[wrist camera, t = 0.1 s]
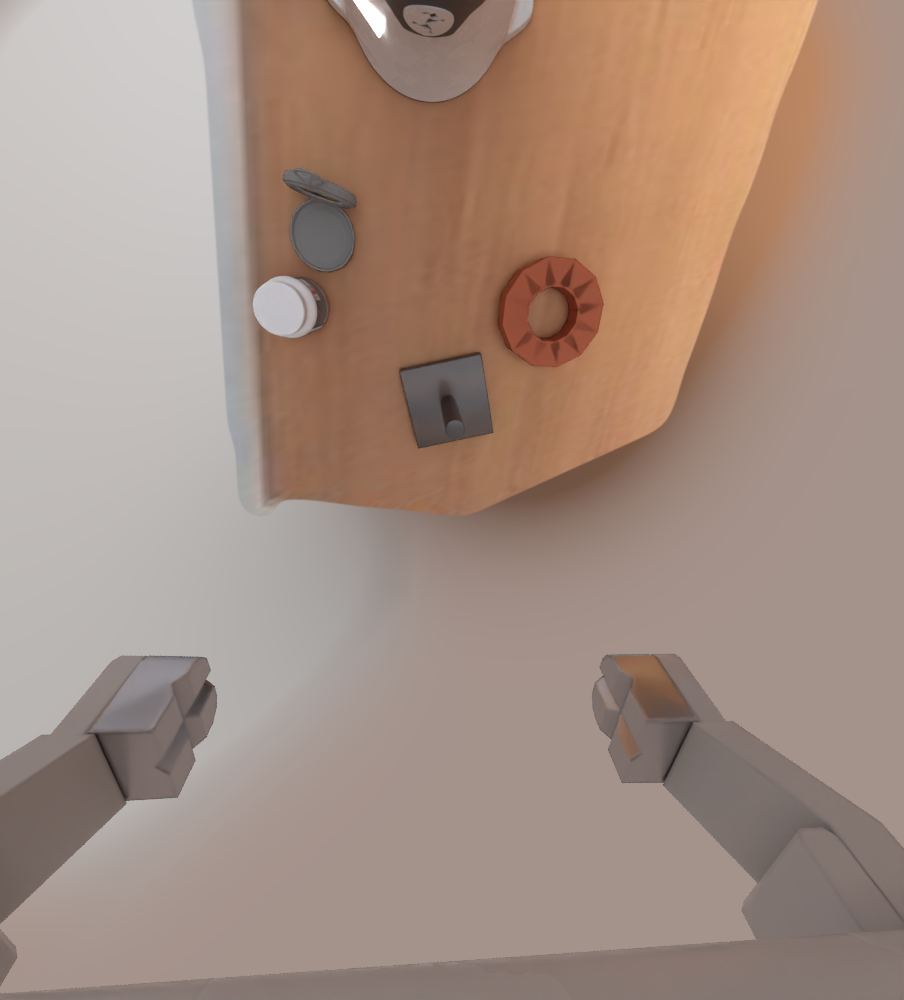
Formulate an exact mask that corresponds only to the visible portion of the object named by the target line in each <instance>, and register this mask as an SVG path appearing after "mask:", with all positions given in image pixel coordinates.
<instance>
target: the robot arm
mask: <svg viewBox="0 0 904 1000" xmlns="http://www.w3.org/2000/svg"><path fill="white" fill-rule="evenodd" d="M327 1H328V2H329V3H330V4H331V6H332V7H333V8H334V9H335V10H336V11H337V12H338V13H339V14H340V15H341V16H342V17H343V18H344V19H345V20H346V21H347V22H348V23H349V25H350V26H351V28H352V29H353V31H354V33H355V35H356V37H357V39H358V41H359V44H360V46H361V48H362V50H363V52H364V54H365V55H366V57H367V59H368V60H369V62H370V64H371V65H372V66H373V68H374V69H375V70H376V72H377V73H378V74H379V75H380V76H381V77H382V78H383V80H384V81H386V82H387V83H388V84H389V85H390V86H391V87H393V88H394V89H395V90H397V91H398V92H400V93H402V94H403V95H405V96H408V97H410V98H413V99H415V100H419V101H425V102H440V101H445V100H449V99H452V98H455V97H457V96H459V95H461V94H463V93H464V92H466V91H467V90H469V89H470V88H471V87H472V86H473V85H475V84H476V83H477V82H478V81H479V80H480V78H481V77H482V76H483V75H484V74H485V72H486V71H487V69H488V68H489V66H490V65H491V63H492V61H493V60H494V58H495V56H496V55H497V53H498V52H499V50H500V49H501V47H502V46H503V45H504V44H505V43H506V42H507V41H509V40H510V39H512V38H513V37H515V36H516V35H517V34H519V33H520V32H521V31H522V30H523V29H524V28H525V27H526V26H527V25H528V23H529V21H530V19H531V16H532V11H533V5H534V0H327ZM600 669H601V672H602V674H603V676H602V677H601V678H600V679H599V680H597V681H596V682H595V685H594V688H593V692H592V702H593V711H594V715H595V718H596V721H597V724H598V726H599V728H600V730H601V731H602V732H604V733H605V734H606V735H607V736H608V737H609V738H610V739H611V742H610V745H609V749H608V750H609V753H610V755H611V757H612V760H613V762H614V765H615V767H616V770H617V772H618V774H619V777H620V779H621V782H622V783H664V784H663V786H665V787H666V789H667V790H668V791H669V792H670V793H671V794H672V795H673V796H674V797H675V798H676V799H677V800H678V801H679V802H680V803H681V804H682V805H683V806H684V807H685V808H686V809H687V810H688V811H689V812H690V813H691V815H692V816H693V817H695V819H696V820H697V821H698V822H699V823H700V824H701V825H702V826H703V827H704V828H705V829H706V830H707V831H708V832H709V833H710V834H711V835H712V836H713V837H714V838H715V839H716V840H717V841H718V842H719V843H720V845H721V846H722V847H723V848H724V849H725V850H726V851H727V852H728V853H729V854H730V855H731V856H732V857H733V858H734V859H735V860H736V861H737V862H738V863H739V864H740V865H741V866H742V867H743V868H744V869H745V870H746V871H747V873H749V875H750V876H751V877H752V878H753V879H754V880H755V881H756V882H757V885H756V886H755V887H754V889H753V890H752V891H751V892H750V894H749V895H748V896H747V898H746V899H745V900H744V903H743V907H742V912H743V914H744V916H745V918H746V920H747V922H748V924H749V926H750V928H751V930H752V932H753V934H754V936H755V938H756V940H745V941H731V942H718V943H704V944H690V945H676V946H661V947H647V948H633V949H619V950H605V951H591V952H576V953H563V954H550V955H549V954H548V955H535V956H520V957H506V958H492V959H478V960H464V961H450V962H437V963H422V964H408V965H394V966H380V967H366V968H352V969H338V970H324V971H310V972H296V973H282V974H268V975H254V976H240V977H226V978H212V979H198V980H184V981H171V982H157V983H142V984H129V985H116V986H102V987H101V986H100V987H87V988H73V989H59V990H45V991H30V992H17V993H3V994H0V1000H904V848H903V847H902V846H901V845H900V843H899V842H898V841H897V840H896V839H895V838H894V836H893V835H892V834H891V833H890V832H889V831H888V830H887V828H886V827H885V826H884V825H883V824H882V823H881V822H880V821H878V820H877V819H875V818H874V817H872V816H871V815H869V814H868V813H867V812H865V811H864V810H862V809H860V808H859V807H858V806H856V805H855V804H853V803H852V802H851V801H849V800H848V799H846V798H845V797H843V796H842V795H840V794H839V793H837V792H836V791H834V790H833V789H832V788H830V787H829V786H827V785H826V784H824V783H823V782H821V781H819V780H818V779H817V778H815V777H814V776H812V775H811V774H810V773H808V772H807V771H805V770H803V769H802V768H801V767H799V766H798V765H796V764H795V763H793V762H792V761H791V760H789V759H787V758H786V757H785V756H783V755H782V754H780V753H778V752H777V751H776V750H774V749H773V748H771V747H770V746H768V745H767V744H765V743H764V742H763V741H761V740H760V739H758V738H757V737H755V736H754V735H752V734H751V733H750V732H748V731H746V730H745V729H744V728H742V727H741V726H739V725H738V724H736V723H735V722H733V721H726V720H725V719H724V718H723V716H722V715H721V714H720V712H719V711H718V709H717V708H716V707H715V705H714V704H713V702H712V701H711V700H710V698H709V697H708V695H707V694H706V693H705V691H704V690H703V689H702V687H701V686H700V684H699V683H698V682H697V680H696V679H695V677H694V676H693V675H692V673H691V672H690V670H689V669H688V668H687V666H686V665H685V663H684V662H683V661H682V659H681V658H680V657H678V656H677V655H676V654H651V655H650V654H619V655H606V656H605V657H604V658H603V659H602V662H601V665H600ZM209 672H210V667H209V663H208V660H207V658H204V657H182V656H179V657H178V656H120V657H118V658H117V659H115V660H113V661H112V662H111V663H110V664H109V665H108V666H107V668H106V669H105V670H104V671H103V672H102V674H101V675H100V676H99V677H98V678H97V680H96V681H95V682H94V683H93V684H92V686H91V687H90V688H89V689H88V690H87V692H86V693H85V694H84V695H83V696H82V698H81V699H80V700H79V701H78V702H77V704H76V705H75V706H74V707H73V708H72V710H71V711H70V712H69V713H68V715H67V716H66V717H65V718H64V719H63V720H62V722H61V723H60V724H59V725H58V727H57V728H56V729H55V730H54V731H53V733H52V734H51V735H41V736H39V737H37V738H36V739H34V740H32V741H31V742H29V743H28V744H26V745H24V746H23V747H21V748H19V749H18V750H16V751H14V752H13V753H11V754H10V755H8V756H6V757H5V758H3V759H1V760H0V924H1V922H3V921H4V920H5V919H6V918H7V917H8V916H9V915H10V914H11V913H12V912H13V911H14V910H15V909H16V908H18V907H19V906H20V905H21V904H22V903H23V902H24V901H25V900H26V899H27V898H28V897H29V896H30V895H31V894H32V893H33V892H34V891H35V890H36V889H37V888H39V886H41V885H42V884H43V883H44V882H45V881H46V880H47V879H48V878H49V877H50V876H51V875H52V874H53V873H54V872H55V871H56V870H57V869H58V868H60V867H61V866H62V864H64V863H65V862H66V861H67V860H68V859H69V858H70V857H71V856H72V855H73V854H74V853H75V852H76V851H77V850H78V849H79V848H81V847H82V846H83V845H84V844H85V843H86V842H87V841H88V840H89V839H90V838H91V837H92V836H93V835H94V834H95V833H96V832H97V831H98V830H99V829H100V828H102V827H103V826H104V825H105V824H106V823H107V822H108V821H109V820H110V819H111V818H112V817H113V816H114V815H115V814H116V813H117V812H118V811H119V810H120V809H122V808H123V807H124V806H125V805H126V801H129V800H146V799H161V798H176V797H178V796H179V794H180V792H181V790H182V787H183V785H184V783H185V781H186V779H187V777H188V775H189V773H190V771H191V769H192V766H193V765H194V762H195V757H194V753H193V750H192V749H193V748H194V747H195V746H196V745H198V744H199V743H200V742H201V741H202V740H204V739H205V738H206V737H207V735H208V733H209V730H210V728H211V726H212V724H213V720H214V716H215V712H216V708H217V695H216V690H215V686H213V685H212V684H211V683H210V682H209V681H207V680H206V678H207V676H208V674H209ZM16 959H17V953H16V946H15V945H14V944H13V943H12V942H11V941H10V940H9V939H8V937H7V936H6V935H5V934H4V933H3V932H2V931H1V930H0V986H1V984H2V982H3V981H4V979H5V977H6V976H7V974H8V972H9V970H10V969H11V967H12V965H13V964H14V962H15V960H16Z"/></svg>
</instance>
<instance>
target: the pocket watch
mask: <svg viewBox="0 0 904 1000" xmlns="http://www.w3.org/2000/svg"><path fill="white" fill-rule="evenodd" d="M303 172H304V173H303ZM306 173H308V174H306ZM309 174H310V175H309ZM283 181H284V182H285V183H286V185H287V186H289V187H290V188H291V189H293V190H295V191H297V192H299V193H301V194H304V195H306V196H308V197H311V198H313V199H310V200H307V201H304V202H303V203H302V204H300V205H299V207H298V208H297V209H296V210H295V212H294V214H293V216H292V219H291V223H290V236H291V241H292V244H293V246H294V249H295V251H296V252H297V254H298V255H299V257H300V258H301V259H302V260H303V261H304V262H305V263H306V264H307V265H308V266H310V267H312V268H314V269H316V270H319V271H326V272H331V271H334V270H337V269H340V268H341V267H343V266H344V265H345V264H346V263H347V262H348V261H349V259H350V258H351V255H352V253H353V250H354V245H355V236H354V230H353V226H352V224H351V221H350V220H349V218H348V216H347V214H346V213H345V212H344V211H343V210H342V209H341V208H340V207H342V208H352V207H355V206H356V197H355V195H354V194H352V193H351V192H349V191H348V190H346V189H344V188H342V187H340V186H338V185H336V184H334V183H331V182H329V181H326V180H324V179H322V178H321V177H320V176H318V175H316V174H314V173H312V172H310V171H308V170H304V169H301V168H296V169H293V171H292V170H285V173H284V174H283Z"/></svg>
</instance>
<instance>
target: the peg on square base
mask: <svg viewBox="0 0 904 1000" xmlns="http://www.w3.org/2000/svg"><path fill="white" fill-rule="evenodd" d="M400 376H401V380H402V384H403V388H404V392H405V396H406V400H407V404H408V408H409V413H410V417H411V421H412V425H413V429H414V433H415V437H416V441H417V445H418V448H423V447H428V446H433V445H437V444H442V443H447V442H452V441H456V440H461V439H466V438H471V437H475V436H480V435H485V434H490V433H493V428H492V421H491V415H490V408H489V402H488V396H487V389H486V383H485V376H484V370H483V364H482V357H481V354H480V353H474V354H470V355H465V356H460V357H456V358H451V359H446V360H442V361H437V362H432V363H428V364H423V365H418V366H414V367H409V368H404V369H400Z"/></svg>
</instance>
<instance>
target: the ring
mask: <svg viewBox="0 0 904 1000" xmlns="http://www.w3.org/2000/svg"><path fill="white" fill-rule="evenodd" d="M549 287H554V288H557V289H558V290H559V291H560V292H562V293H563V294H564V295H565V296H566V299H567V302H568V305H569V314H568V320H567V323H566V324H565V325H564V327H563V328H562V330H561V331H560V332H559V333H558V334H556V335H554V336H552V337H550V338H548V339H544V338H538V337H537V336H535V335H534V334H533V333H532V331H531V328H530V326H529V323H528V312H529V306H530V304H531V303H532V301H533V300H534V298H535V297H536V295H537V294H538V293H539V292H541V291H543V290H545V289H547V288H549ZM602 309H603V300H602V296H601V293H600V289H599V286H598V283H597V279H596V276H594V275H593V274H592V273H591V272H590V271H589V270H588V269H586V268H585V267H584V266H583V265H582V264H581V263H580V262H578V261H577V260H576V259H570V258H558V257H545V258H541V259H539V260H537V261H535V262H533V263H531V264H530V265H528V266H526V267H524V268H522V269H520V270H519V271H517V272H516V273H515V275H514V276H513V278H512V279H511V281H510V282H509V284H508V285H507V287H506V289H505V290H504V292H503V293H502V295H501V298H500V308H499V317H498V326H499V328H500V331H501V333H502V335H503V338H504V340H505V343H506V345H507V347H508V348H509V349H510V350H511V351H513V352H514V353H516V354H517V355H518V356H520V357H521V358H522V359H524V360H525V361H526V362H528V363H529V364H531V365H534V366H550V367H558V366H560V365H562V364H564V363H566V362H568V361H570V360H572V359H574V358H576V357H578V356H580V355H581V354H582V353H583V351H584V350H585V349H586V347H587V346H588V345H589V343H590V342H591V341H592V339H593V338H594V337H595V335H596V334H597V332H598V329H599V324H600V319H601V314H602Z"/></svg>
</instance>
